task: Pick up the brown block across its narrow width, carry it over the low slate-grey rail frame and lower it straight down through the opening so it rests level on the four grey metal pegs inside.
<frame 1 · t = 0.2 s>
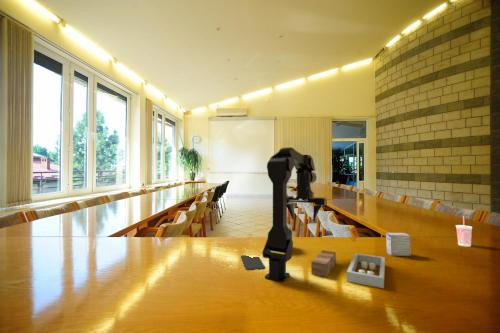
hand: (303, 220, 108), 14 cm above the table, fingers open, 9 cm apart
food container: (284, 248, 116), on the table
medicine box: (398, 255, 106), on the table
peg frame: (367, 272, 87), on the table
phone: (252, 263, 97), on the table
brown block: (324, 269, 91), on the table
beverage cup: (464, 245, 120), on the table
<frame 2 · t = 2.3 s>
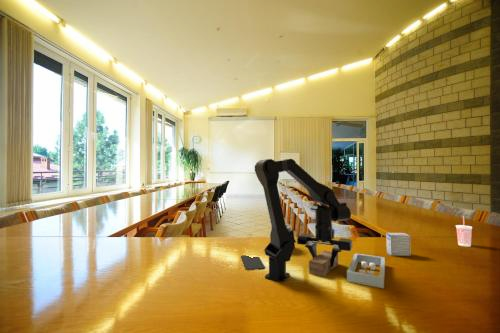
hand: (324, 265, 91), 1 cm above the table, fingers closed on brown block, 5 cm apart
brown block: (324, 269, 91), on the table, touching gripper
everything else where it was.
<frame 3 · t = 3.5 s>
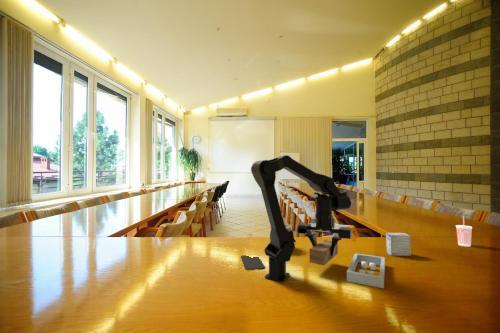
hand: (324, 254, 91), 5 cm above the table, fingers closed on brown block, 5 cm apart
brown block: (324, 257, 91), point 4 cm above the table, touching gripper
everything else where it was.
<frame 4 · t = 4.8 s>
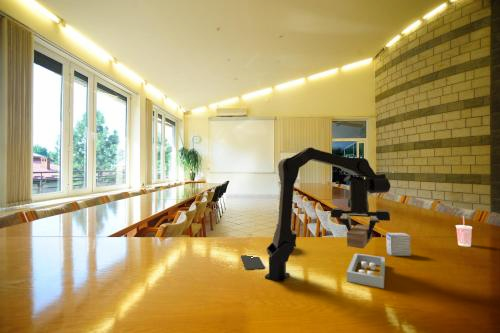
hand: (360, 238, 88), 12 cm above the table, fingers closed on brown block, 5 cm apart
brown block: (360, 241, 88), point 10 cm above the table, touching gripper
everything else where it was.
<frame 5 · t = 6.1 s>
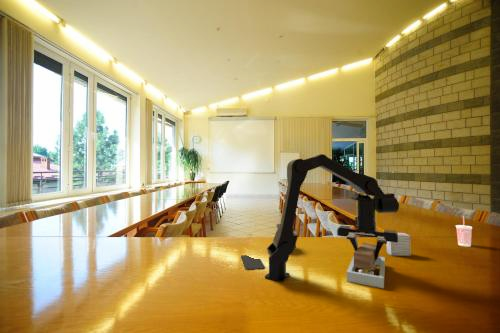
hand: (366, 258, 87), 5 cm above the table, fingers closed on brown block, 5 cm apart
brown block: (366, 261, 87), point 4 cm above the table, touching gripper
everything else where it was.
when the fingers open (4 cm above the table, at t = 7.0 s): brown block drops 1 cm, resting on peg frame.
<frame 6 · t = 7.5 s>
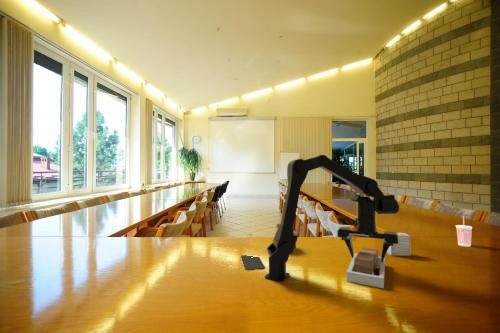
hand: (367, 259, 87), 4 cm above the table, fingers open, 9 cm apart
brown block: (367, 266, 87), point 2 cm above the table, touching peg frame
everything else where it was.
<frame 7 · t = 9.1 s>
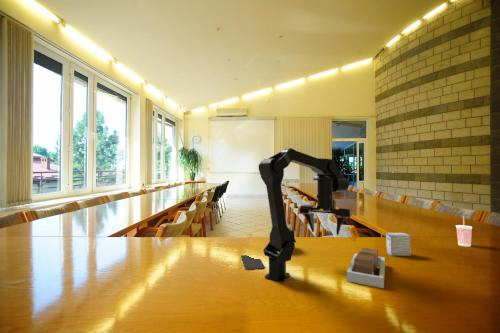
hand: (325, 233, 95), 12 cm above the table, fingers open, 9 cm apart
nothing on the table moved.
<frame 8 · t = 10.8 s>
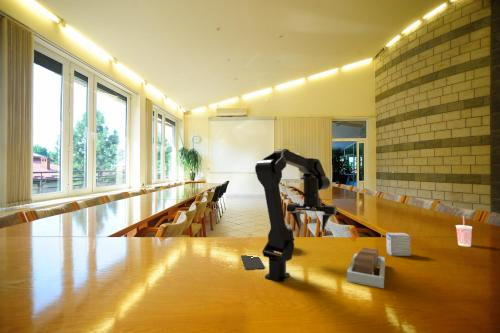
hand: (311, 230, 99), 12 cm above the table, fingers open, 9 cm apart
nothing on the table moved.
at the end: brown block 0.1 cm off-centre on the peg frame, point 2.0 cm above the peg frame's base; brown block tilted 0°; the gripper is holding nothing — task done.
